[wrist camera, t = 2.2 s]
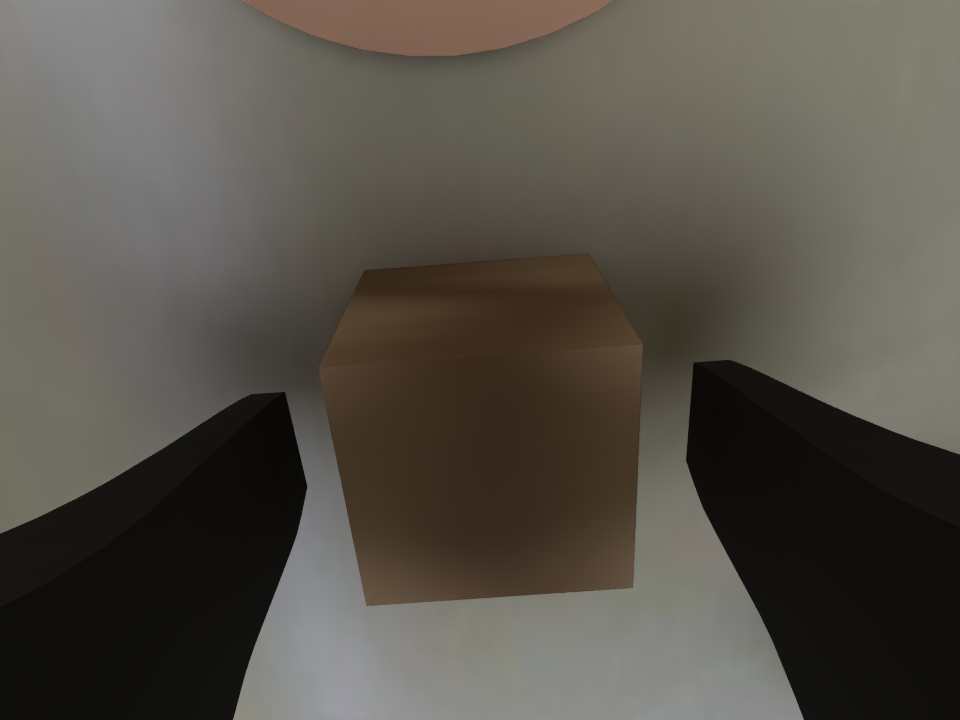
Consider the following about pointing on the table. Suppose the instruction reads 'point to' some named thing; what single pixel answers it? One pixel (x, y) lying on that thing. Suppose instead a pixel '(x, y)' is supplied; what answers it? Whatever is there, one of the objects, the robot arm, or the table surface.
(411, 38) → the base disc
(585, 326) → the walnut cube
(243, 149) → the table surface
